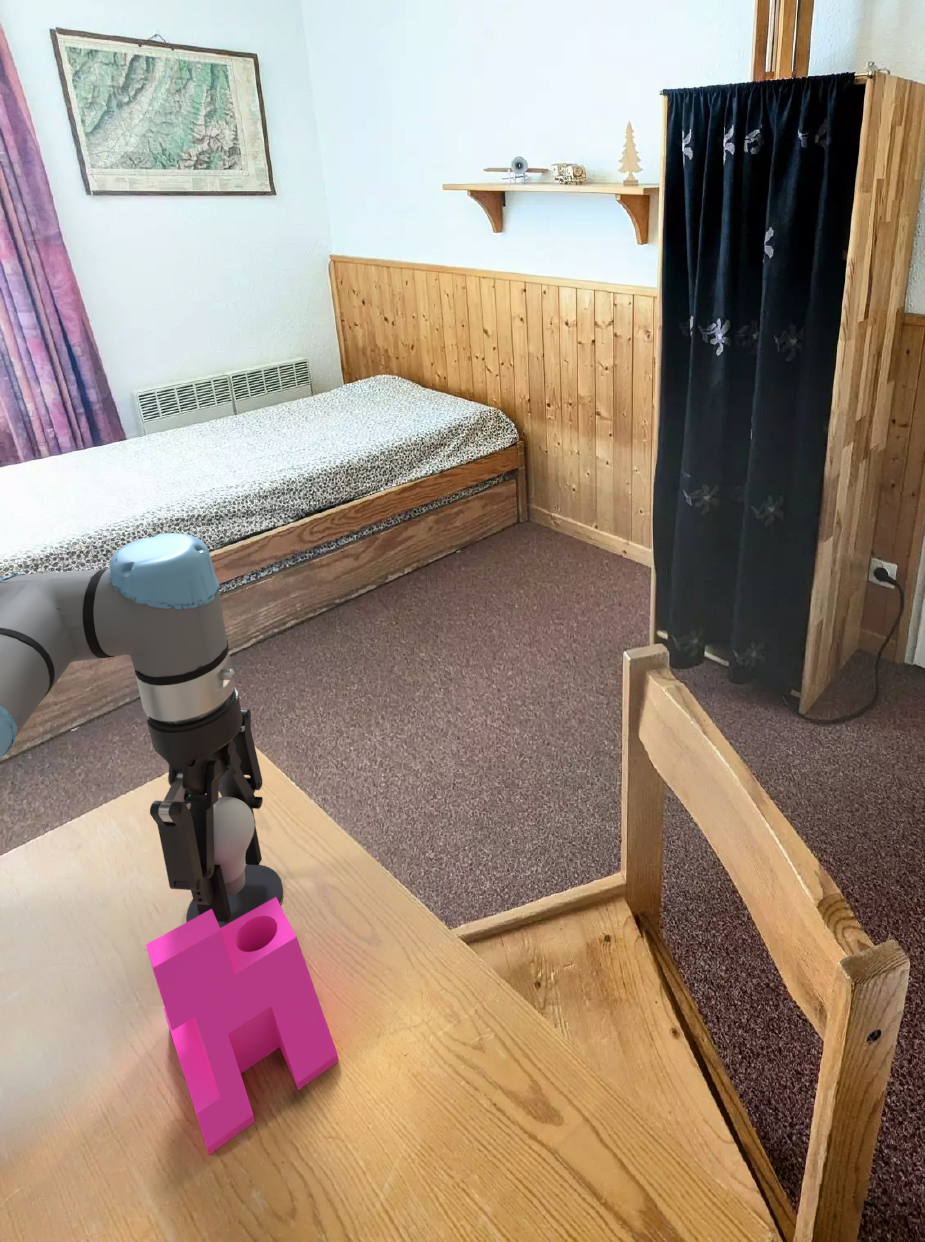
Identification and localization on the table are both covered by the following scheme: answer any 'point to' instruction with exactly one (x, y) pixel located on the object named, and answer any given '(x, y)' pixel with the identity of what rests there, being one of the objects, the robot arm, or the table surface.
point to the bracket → (238, 1010)
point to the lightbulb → (232, 840)
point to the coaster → (249, 893)
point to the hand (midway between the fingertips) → (232, 888)
